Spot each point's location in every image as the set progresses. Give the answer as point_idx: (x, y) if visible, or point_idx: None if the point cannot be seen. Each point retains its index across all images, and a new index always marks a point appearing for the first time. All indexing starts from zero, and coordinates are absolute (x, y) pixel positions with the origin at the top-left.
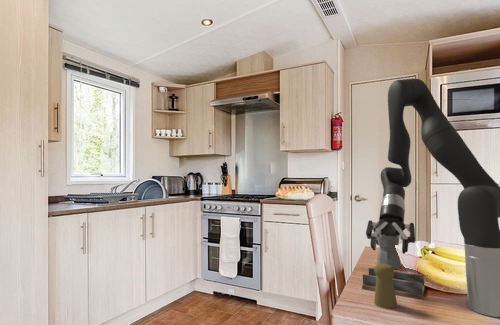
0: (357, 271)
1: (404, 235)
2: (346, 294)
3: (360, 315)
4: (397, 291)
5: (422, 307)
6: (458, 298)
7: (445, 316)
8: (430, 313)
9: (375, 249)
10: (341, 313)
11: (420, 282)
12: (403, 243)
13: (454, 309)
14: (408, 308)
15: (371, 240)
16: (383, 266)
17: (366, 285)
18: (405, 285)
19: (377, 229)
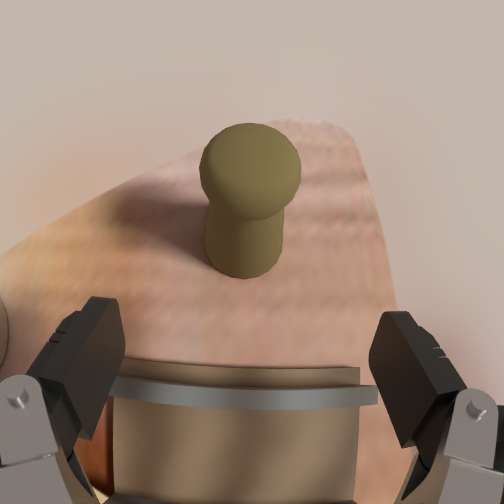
0: None
1: (13, 431)
2: (384, 271)
3: (294, 136)
4: (209, 369)
5: (125, 273)
6: None
7: (76, 231)
8: (109, 233)
9: (371, 368)
10: (338, 131)
11: (124, 498)
12: (74, 339)
13: (42, 301)
14: (169, 241)
15: (449, 371)
16: (251, 128)
17: (344, 379)
18: (171, 383)
19: (488, 483)
